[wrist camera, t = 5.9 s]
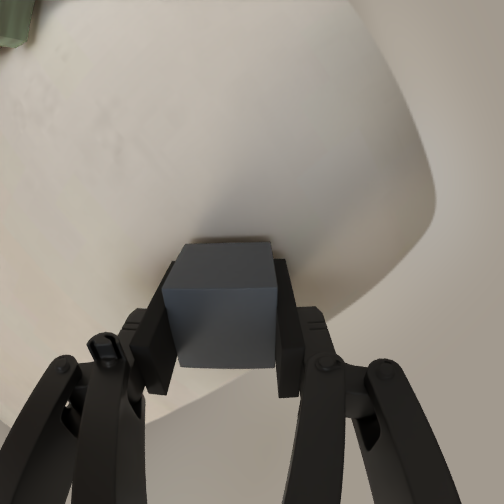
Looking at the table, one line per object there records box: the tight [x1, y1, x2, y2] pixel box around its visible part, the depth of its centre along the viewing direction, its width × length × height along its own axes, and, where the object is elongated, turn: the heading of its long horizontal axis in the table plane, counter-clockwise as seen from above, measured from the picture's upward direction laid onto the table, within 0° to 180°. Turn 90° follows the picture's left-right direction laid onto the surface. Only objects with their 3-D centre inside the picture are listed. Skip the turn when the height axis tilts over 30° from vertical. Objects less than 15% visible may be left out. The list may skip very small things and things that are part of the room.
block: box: [162, 242, 278, 369], centre depth 13 cm, size 4×4×4 cm
